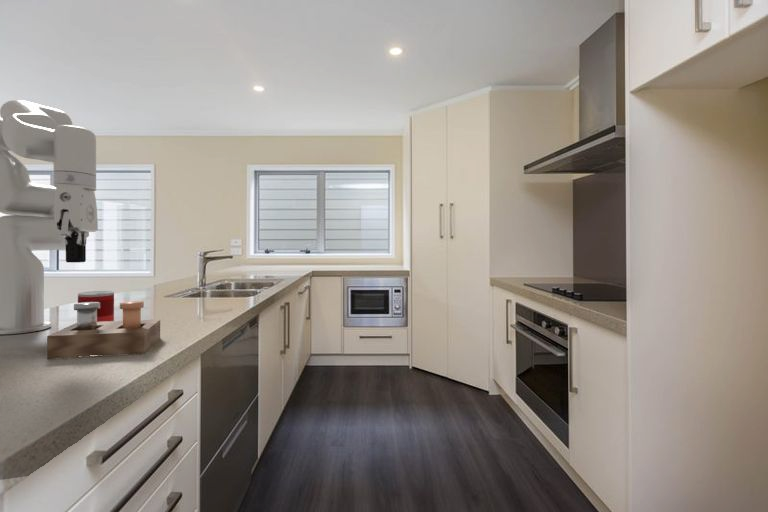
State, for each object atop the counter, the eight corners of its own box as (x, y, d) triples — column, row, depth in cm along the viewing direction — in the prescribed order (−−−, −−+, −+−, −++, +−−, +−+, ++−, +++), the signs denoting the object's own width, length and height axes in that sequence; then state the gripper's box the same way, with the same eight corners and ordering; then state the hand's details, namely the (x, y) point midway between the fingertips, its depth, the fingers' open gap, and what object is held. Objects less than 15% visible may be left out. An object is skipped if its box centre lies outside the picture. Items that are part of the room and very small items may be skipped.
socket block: (47, 359, 79) (47, 336, 79) (77, 342, 92) (77, 322, 92) (144, 353, 85) (144, 331, 85) (160, 338, 98) (160, 319, 98)
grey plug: (69, 337, 84) (69, 305, 84) (79, 332, 88) (79, 302, 88) (95, 336, 85) (95, 304, 85) (103, 331, 90) (103, 301, 90)
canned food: (120, 329, 106) (120, 291, 106) (96, 336, 98) (96, 295, 98) (96, 328, 107) (96, 290, 107) (70, 334, 99) (70, 293, 99)
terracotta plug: (116, 335, 87) (116, 304, 87) (123, 330, 91) (123, 301, 91) (140, 334, 88) (140, 304, 88) (146, 329, 93) (146, 300, 93)
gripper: (80, 178, 79) (80, 263, 80) (107, 188, 93) (107, 260, 94) (36, 175, 77) (37, 263, 77) (71, 186, 91) (71, 260, 91)
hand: (75, 262), depth 86 cm, fingers closed
